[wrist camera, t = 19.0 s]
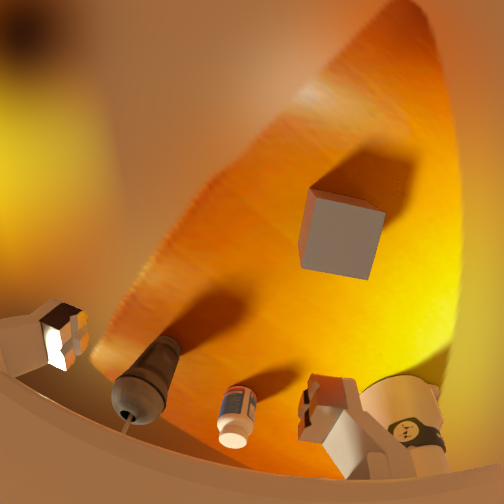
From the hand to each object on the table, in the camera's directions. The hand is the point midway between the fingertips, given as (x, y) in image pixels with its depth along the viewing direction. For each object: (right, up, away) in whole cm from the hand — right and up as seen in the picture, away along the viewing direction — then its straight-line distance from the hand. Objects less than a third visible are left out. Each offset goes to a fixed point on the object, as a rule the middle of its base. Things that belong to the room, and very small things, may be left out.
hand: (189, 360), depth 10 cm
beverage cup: (-11, -11, +36) cm, 39 cm away
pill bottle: (0, -20, +37) cm, 42 cm away
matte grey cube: (+12, +7, +27) cm, 30 cm away
